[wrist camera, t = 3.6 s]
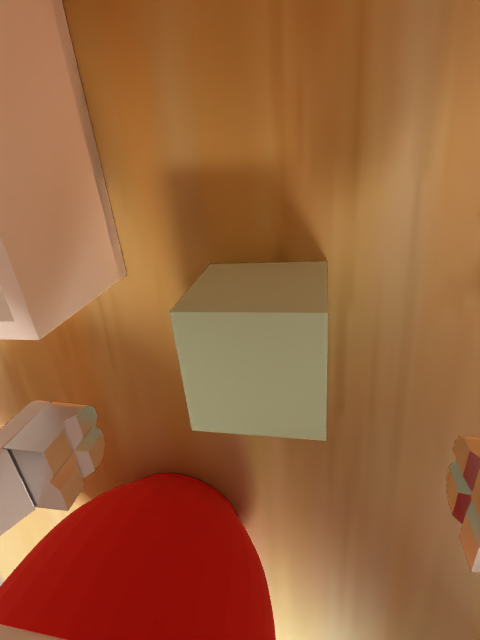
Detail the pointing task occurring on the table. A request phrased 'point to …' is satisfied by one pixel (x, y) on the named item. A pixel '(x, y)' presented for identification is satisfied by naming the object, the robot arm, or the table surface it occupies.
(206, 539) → the ceramic cup
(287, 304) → the sage cube
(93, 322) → the table surface
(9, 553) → the table surface
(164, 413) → the table surface
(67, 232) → the tub
